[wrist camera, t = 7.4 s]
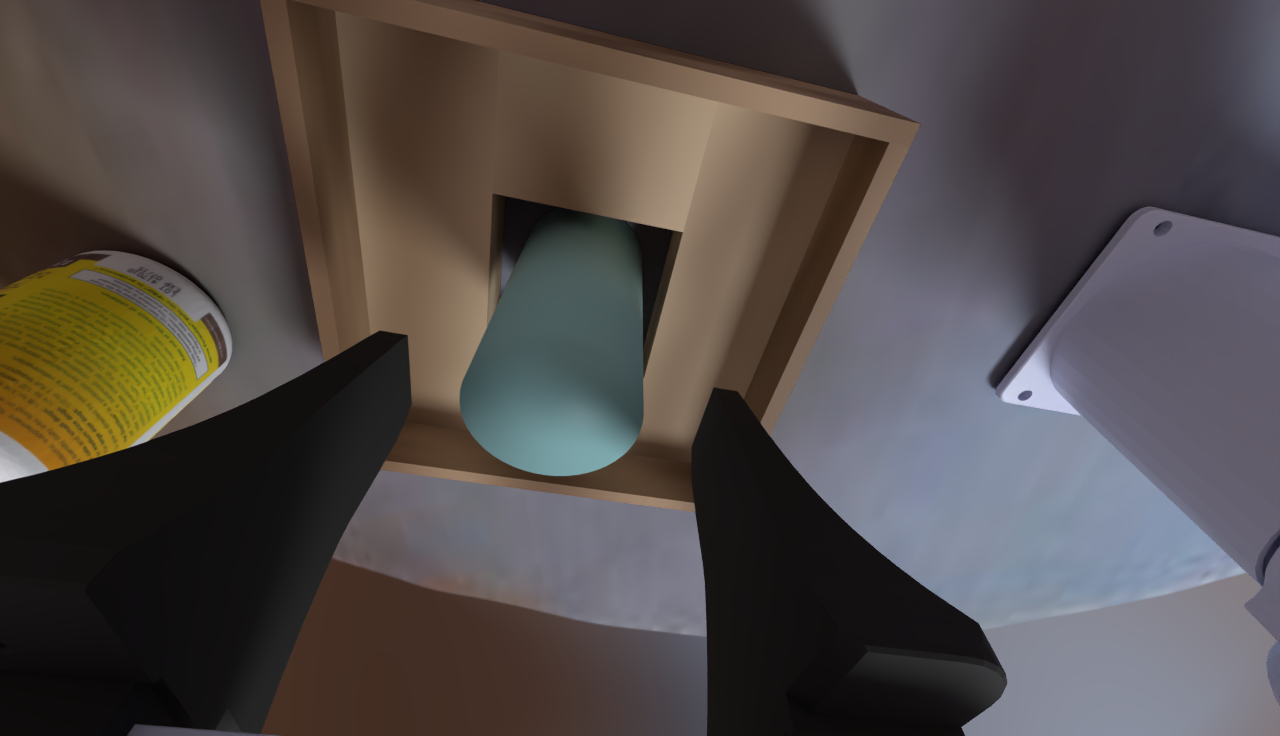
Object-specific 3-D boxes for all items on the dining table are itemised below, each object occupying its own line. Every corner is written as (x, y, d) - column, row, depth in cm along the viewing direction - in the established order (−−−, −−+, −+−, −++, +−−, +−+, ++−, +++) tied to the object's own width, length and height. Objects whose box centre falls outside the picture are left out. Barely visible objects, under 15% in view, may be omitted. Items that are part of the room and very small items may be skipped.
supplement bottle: (94, 209, 17) (-440, 420, 8) (265, 316, 19) (-18, 564, 11) (48, 314, 19) (-407, 562, 11) (207, 398, 21) (-65, 655, 13)
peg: (658, 224, 17) (669, 365, 11) (622, 323, 19) (613, 490, 13) (538, 186, 16) (473, 311, 10) (515, 293, 19) (449, 454, 12)
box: (859, 95, 15) (920, 124, 12) (717, 442, 23) (730, 516, 20) (347, -31, 13) (252, -40, 10) (387, 392, 21) (342, 464, 18)
